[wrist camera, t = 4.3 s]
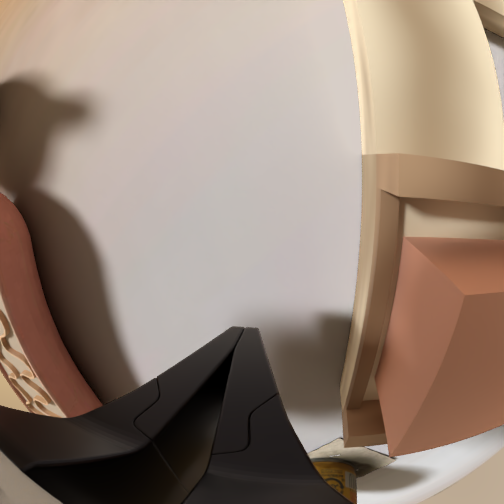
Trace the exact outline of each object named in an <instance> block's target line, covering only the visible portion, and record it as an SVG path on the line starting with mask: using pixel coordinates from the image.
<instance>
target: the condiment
mask: <svg viewBox="0 0 504 504" xmlns="http://www.w3.org/2000/svg"><path fill="white" fill-rule="evenodd" d="M333 455H334V456H333ZM335 455H340V456H335ZM308 456H309V457H310V459H311V461H312V463H313V464H314V466H315V467H316V469H317V470H318V472H319V473H320V475H321V476H322V477H323V478H324V480H325V481H326V482H327V483H328V484H329V485H330V486H332V487H333V488H334V489H335V490H337V491H338V492H339V493H341V494H342V495H343V496H345V497H346V498H348V499H349V500H350V501H352V502H353V503H355V504H357V487H356V478H357V477H362V476H364V475H366V474H368V473H370V472H372V471H374V470H376V469H379V468H381V467H384V466H387V465H389V464H390V463H392V462H394V461H396V460H394V459H391V458H390V457H387V456H385V455H382V454H380V453H378V452H375V451H372V450H369V449H367V448H365V447H351V448H344V441H343V440H342V439H340V438H338V439H336V440H334V441H332V442H331V443H329V444H327V445H324V446H322V447H320V448H319V449H318V450H315V451H312V452H310V453H308ZM330 456H333V457H330ZM357 469H359V470H357Z"/></svg>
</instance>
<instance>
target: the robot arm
mask: <svg viewBox="0 0 504 504" xmlns="http://www.w3.org/2000/svg"><path fill="white" fill-rule="evenodd" d="M0 504H355V503H353V502H352V501H350V500H349V499H348V498H346V497H345V496H343V495H342V494H341V493H339V492H338V491H337V490H335V489H334V488H333V487H332V486H330V485H329V484H328V483H327V482H326V481H325V480H324V478H323V477H322V476H321V475H320V473H319V472H318V470H317V469H316V467H315V466H314V464H313V463H312V461H311V459H310V457H309V456H308V454H307V452H306V451H305V449H304V447H303V445H302V444H301V442H300V440H299V438H298V437H297V435H296V433H295V431H294V429H293V427H292V425H291V423H290V421H289V419H288V417H287V414H286V412H285V409H284V406H283V404H282V401H281V397H280V395H279V392H278V389H277V385H276V382H275V379H274V376H273V373H272V370H271V367H270V364H269V360H268V357H267V354H266V351H265V348H264V344H263V341H262V338H261V335H260V332H259V329H258V328H251V327H246V328H244V327H235V326H233V327H230V328H229V329H228V330H226V331H225V332H223V333H222V334H220V335H219V336H217V337H216V338H215V339H213V340H212V341H210V342H209V343H207V344H206V345H204V346H203V347H201V348H200V349H198V350H197V351H195V352H194V353H192V354H191V355H189V356H188V357H186V358H185V359H183V360H182V361H180V362H179V363H177V364H176V365H174V366H173V367H171V368H170V369H168V370H167V371H165V372H163V373H162V374H160V375H159V376H157V378H154V379H152V380H151V381H149V382H147V383H146V384H144V385H142V386H141V387H139V388H137V389H136V390H134V391H132V392H130V393H128V394H126V395H124V396H122V397H120V398H118V399H116V400H114V401H112V402H110V403H107V404H105V405H103V406H101V407H99V408H96V409H94V410H92V411H90V412H87V413H85V414H82V415H80V416H76V417H70V418H60V417H53V416H46V415H41V414H35V413H30V412H24V411H21V410H16V409H12V408H8V407H4V406H1V405H0Z"/></svg>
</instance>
